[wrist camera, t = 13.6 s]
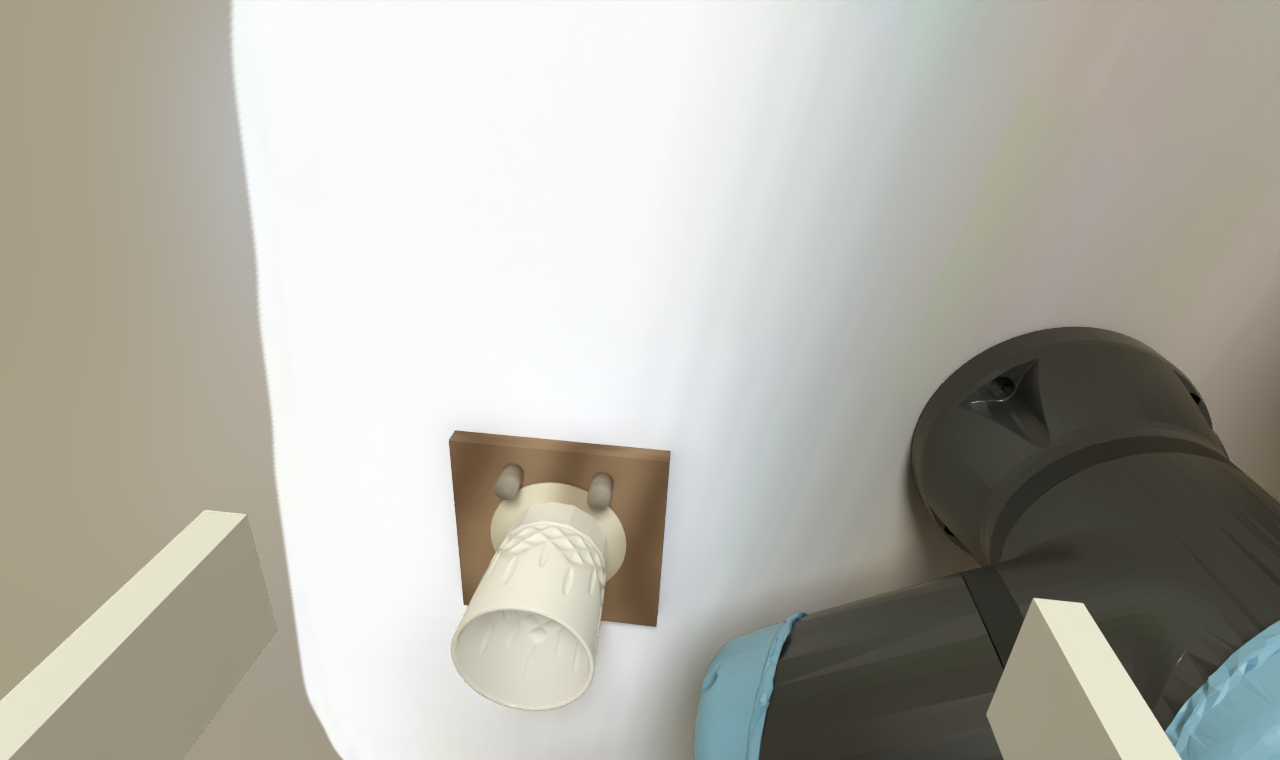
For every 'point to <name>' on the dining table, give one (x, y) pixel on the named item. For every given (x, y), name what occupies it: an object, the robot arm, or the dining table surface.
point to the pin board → (571, 474)
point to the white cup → (537, 611)
